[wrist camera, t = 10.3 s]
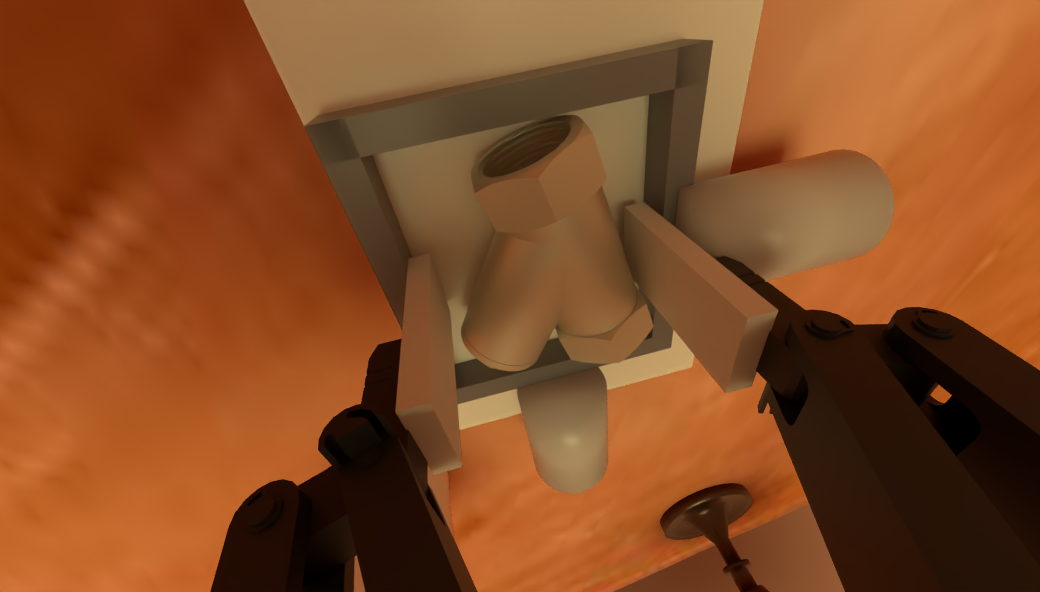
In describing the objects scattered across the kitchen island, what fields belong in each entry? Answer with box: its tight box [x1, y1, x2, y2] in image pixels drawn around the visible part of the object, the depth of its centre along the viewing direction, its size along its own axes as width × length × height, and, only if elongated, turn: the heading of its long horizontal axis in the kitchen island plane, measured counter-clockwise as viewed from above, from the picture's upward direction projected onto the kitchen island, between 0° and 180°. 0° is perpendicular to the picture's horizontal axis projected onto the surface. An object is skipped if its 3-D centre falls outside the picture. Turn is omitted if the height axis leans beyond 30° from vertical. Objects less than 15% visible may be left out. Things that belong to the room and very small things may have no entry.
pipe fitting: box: [461, 115, 654, 371], centre depth 13 cm, size 8×4×7 cm
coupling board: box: [244, 0, 894, 493], centre depth 14 cm, size 22×17×5 cm
